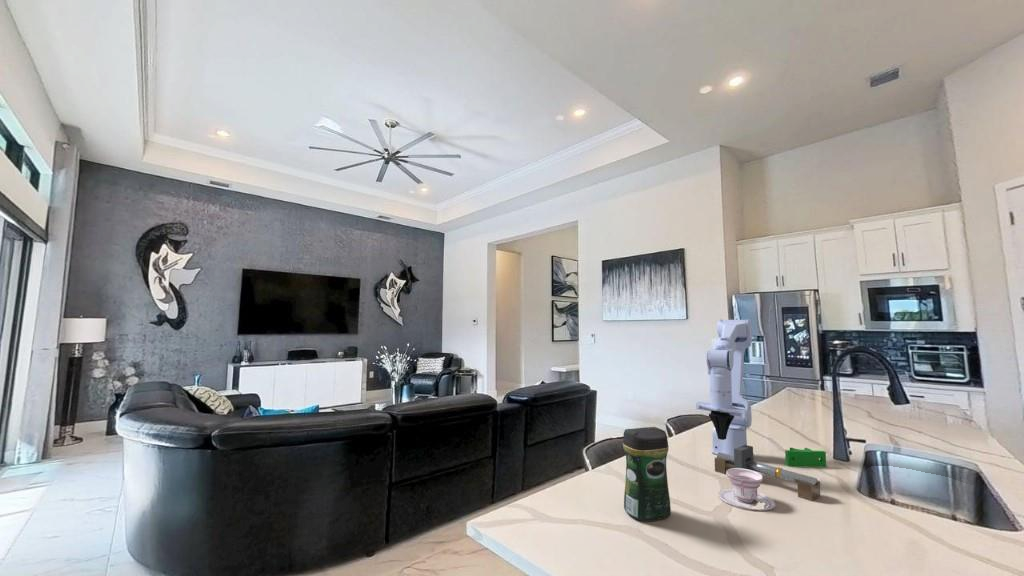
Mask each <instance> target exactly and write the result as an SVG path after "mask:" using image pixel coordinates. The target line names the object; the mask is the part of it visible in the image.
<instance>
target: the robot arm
mask: <svg viewBox="0 0 1024 576" xmlns="http://www.w3.org/2000/svg"><path fill="white" fill-rule="evenodd" d="M716 325H717V326H716V329H717V335H718V338H716V340H715V342H714V344H713V347H712V348H711V349H710V350H708V351H707V352H706V365H707V373H708V375H709V398H710V399H709V401H710V403H709V402H703V401H702V402H701V401H698V402H696V403H695V405H696V406H695V408H696V410H701V411H707V412H710V413H708V417H709V418H710V420H711V422H712V424H713V428H712V431H711V436H712V441H711V442H712V450H711V451H710V453H711V454H716V455H717V454H718V453H719V452H721V453H725V454H729V455H732V456H734V449H735V448H738V447H741V446H744V445H748V441H747V440H748V439H747V437H748V436H747V429H750V427H751V426H752V418H753V417H752V406H751V404H750V402H749V401H748V400H746V399H745V398H744V397H743V396H742V395H743V378H744V377H743V376H744V375H743V374H744V357H745V353H746V349H748V348H750V347H751V346H752V342H753V324H752V321H751V320H750V319H749V318H748V319H722V318H720V319H719V320H718V322H717V324H716Z"/></svg>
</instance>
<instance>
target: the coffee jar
mask: <svg viewBox="0 0 1024 576" xmlns="http://www.w3.org/2000/svg"><path fill="white" fill-rule="evenodd" d="M622 447H623V450H624V453H625V459H626V460H625V463H626V464H625V465H626V466H625V484H624V495H623V497H624V498H623V508H624V511H625V512H626V514H628V516H630V517H631V518H633V519H636V520H639V521H642V522H647V521H657V520H661V519H665V518H668V517H670V516H671V513H672V509H671V498H670V492H669V483H668V474H667V473H668V471H667V458H668V457H667V456H668V453H669V442H668V436H667V433H666V431H665V430H664V429H661V428H660V427H656V426H647V427H646V426H645V427H636V428H626V429H624V431H623V440H622Z"/></svg>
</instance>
